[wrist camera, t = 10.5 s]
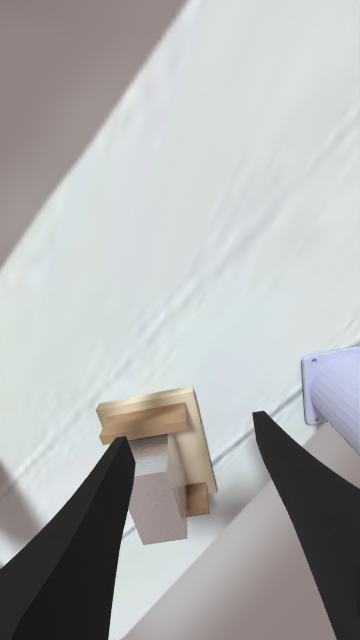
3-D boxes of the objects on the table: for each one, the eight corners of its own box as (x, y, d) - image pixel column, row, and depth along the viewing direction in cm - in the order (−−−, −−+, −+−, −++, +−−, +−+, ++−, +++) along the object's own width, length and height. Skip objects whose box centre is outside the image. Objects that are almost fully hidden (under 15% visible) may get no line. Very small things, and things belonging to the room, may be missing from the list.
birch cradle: (192, 385, 22) (194, 409, 18) (215, 484, 25) (220, 518, 22) (99, 403, 22) (85, 429, 19) (135, 497, 26) (129, 532, 23)
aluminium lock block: (169, 418, 21) (166, 471, 16) (185, 476, 24) (187, 538, 18) (131, 425, 22) (116, 479, 16) (151, 481, 24) (143, 545, 19)
